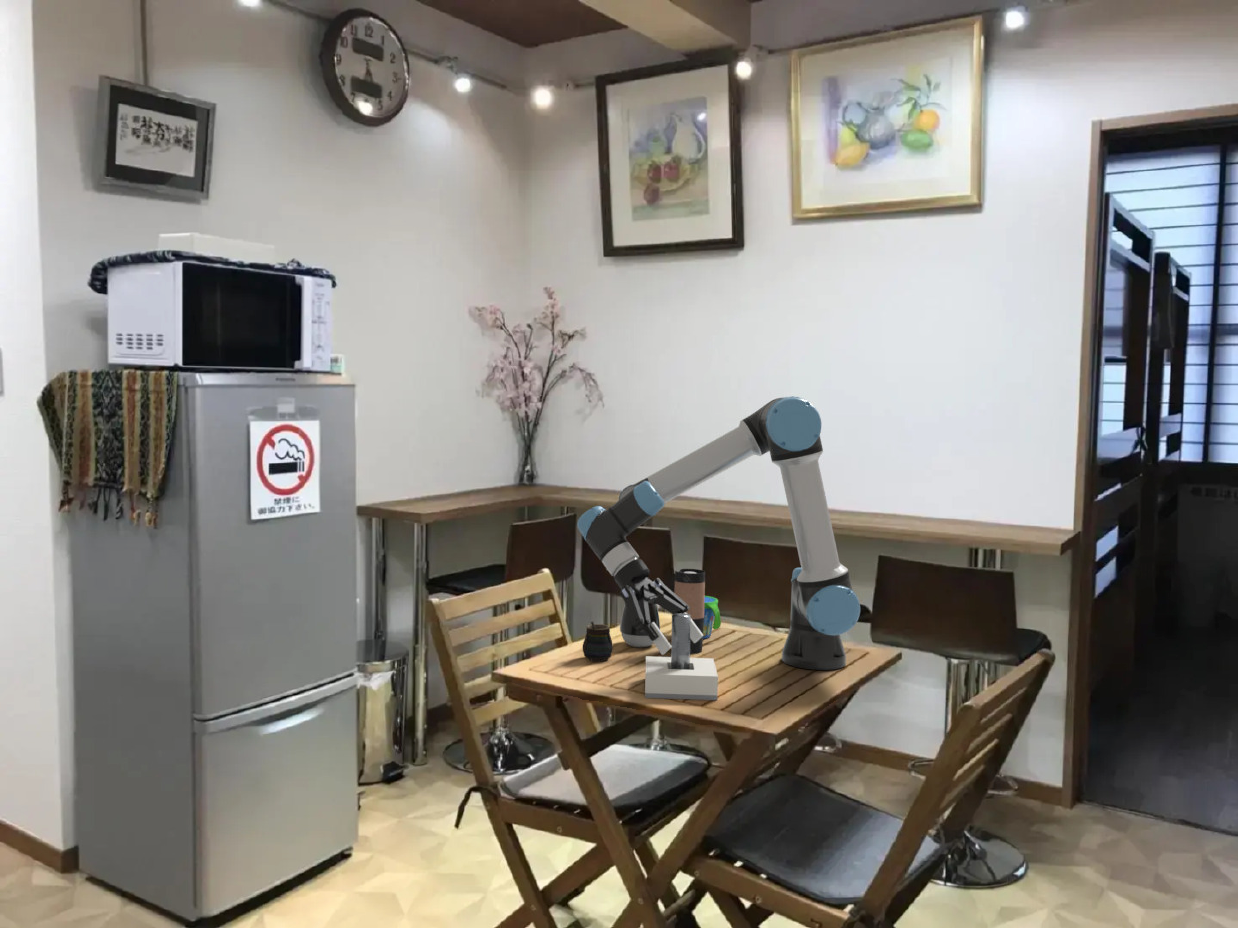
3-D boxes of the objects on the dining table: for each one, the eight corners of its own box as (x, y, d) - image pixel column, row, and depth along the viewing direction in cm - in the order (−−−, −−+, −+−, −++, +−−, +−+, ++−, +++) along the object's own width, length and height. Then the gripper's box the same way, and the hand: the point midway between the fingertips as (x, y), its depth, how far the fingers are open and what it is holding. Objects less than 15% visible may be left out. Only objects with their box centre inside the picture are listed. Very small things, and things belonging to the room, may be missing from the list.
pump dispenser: (654, 651, 248) (656, 590, 248) (614, 647, 251) (616, 587, 250) (664, 642, 258) (666, 584, 257) (625, 639, 261) (627, 581, 260)
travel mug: (706, 653, 247) (708, 573, 246) (676, 654, 246) (678, 573, 245) (698, 646, 255) (701, 568, 254) (669, 646, 253) (671, 568, 252)
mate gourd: (615, 656, 242) (616, 616, 241) (608, 664, 235) (610, 622, 234) (586, 654, 244) (587, 613, 243) (579, 662, 236) (580, 620, 235)
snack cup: (730, 640, 262) (732, 602, 262) (698, 644, 257) (699, 605, 256) (695, 628, 276) (696, 591, 275) (663, 632, 270) (664, 595, 269)
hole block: (712, 680, 223) (713, 658, 222) (717, 700, 208) (717, 676, 208) (645, 678, 223) (645, 656, 223) (644, 697, 208) (645, 674, 208)
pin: (688, 681, 217) (690, 613, 217) (689, 687, 213) (690, 617, 213) (670, 681, 218) (671, 613, 217) (670, 686, 214) (672, 617, 213)
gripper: (646, 571, 234) (700, 644, 226) (583, 585, 213) (641, 666, 206) (666, 551, 231) (722, 624, 223) (605, 563, 210) (664, 645, 202)
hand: (683, 645), depth 214 cm, fingers open, 13 cm apart
